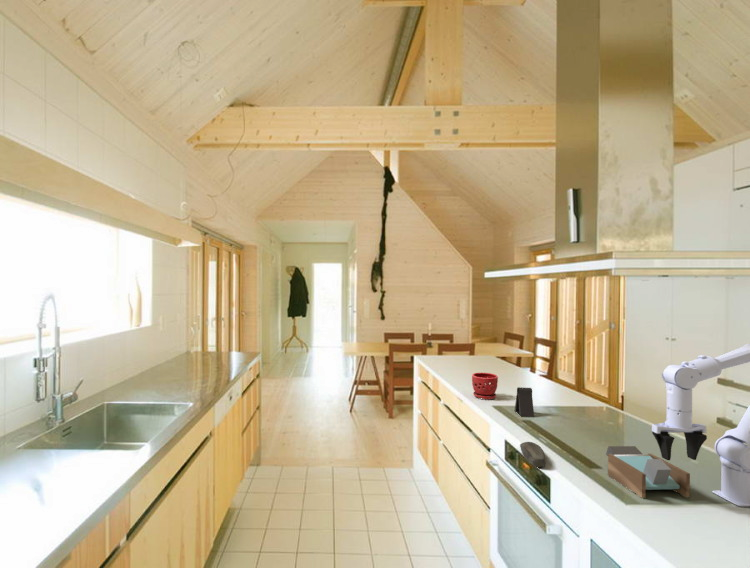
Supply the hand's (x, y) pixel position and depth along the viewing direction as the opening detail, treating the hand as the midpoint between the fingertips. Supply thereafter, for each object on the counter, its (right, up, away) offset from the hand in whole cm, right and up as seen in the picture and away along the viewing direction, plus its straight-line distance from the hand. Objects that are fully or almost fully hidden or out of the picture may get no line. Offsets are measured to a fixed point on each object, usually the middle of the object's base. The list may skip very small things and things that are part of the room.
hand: (678, 458), depth 113 cm
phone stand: (-16, -12, +74) cm, 77 cm away
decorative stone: (-31, -10, +24) cm, 40 cm away
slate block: (-5, -7, +3) cm, 9 cm away
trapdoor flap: (-6, -9, +9) cm, 14 cm away
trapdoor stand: (-5, -10, +6) cm, 13 cm away
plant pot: (-26, -12, +103) cm, 107 cm away
